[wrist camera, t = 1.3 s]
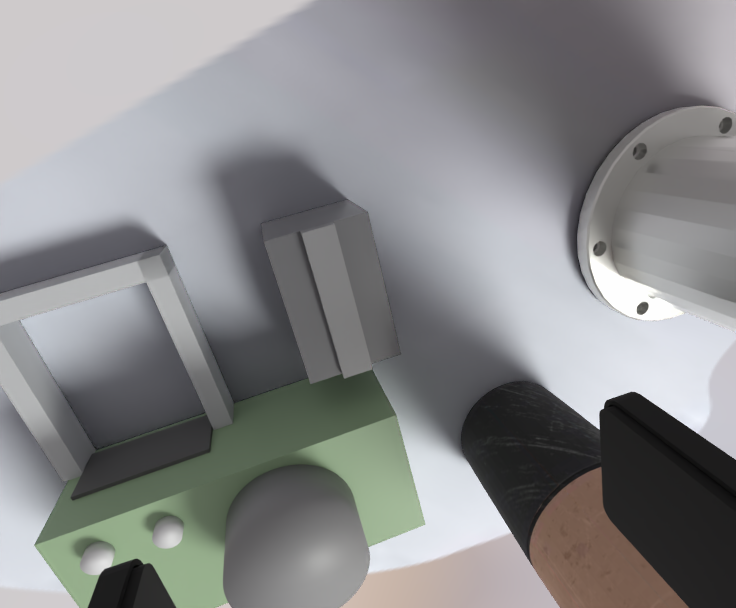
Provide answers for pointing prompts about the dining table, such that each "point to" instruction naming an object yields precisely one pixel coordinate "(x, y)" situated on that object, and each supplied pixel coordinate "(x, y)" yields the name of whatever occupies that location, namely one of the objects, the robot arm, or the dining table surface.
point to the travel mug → (557, 499)
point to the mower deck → (213, 468)
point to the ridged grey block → (332, 289)
